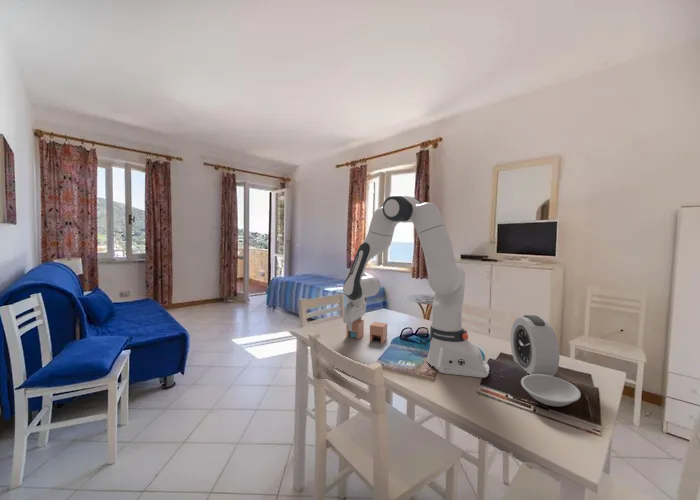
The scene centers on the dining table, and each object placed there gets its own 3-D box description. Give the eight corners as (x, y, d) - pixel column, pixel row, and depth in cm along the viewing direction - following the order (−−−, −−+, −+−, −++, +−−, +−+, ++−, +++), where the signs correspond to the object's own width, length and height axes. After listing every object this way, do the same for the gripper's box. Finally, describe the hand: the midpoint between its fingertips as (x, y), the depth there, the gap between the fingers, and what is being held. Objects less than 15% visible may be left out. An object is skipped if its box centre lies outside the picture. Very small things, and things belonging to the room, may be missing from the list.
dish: (573, 427, 75) (574, 408, 74) (512, 404, 85) (513, 387, 85) (584, 401, 87) (585, 385, 87) (529, 383, 97) (530, 369, 97)
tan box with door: (363, 335, 144) (363, 320, 144) (358, 339, 138) (358, 323, 138) (351, 333, 147) (351, 318, 146) (346, 337, 141) (346, 321, 141)
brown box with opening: (386, 338, 139) (387, 323, 139) (382, 343, 133) (383, 327, 133) (374, 336, 142) (374, 321, 141) (369, 341, 136) (369, 325, 136)
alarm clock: (509, 356, 120) (511, 308, 119) (529, 357, 119) (530, 309, 118) (535, 381, 99) (537, 324, 98) (558, 383, 98) (561, 325, 97)
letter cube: (360, 335, 144) (360, 327, 143) (357, 338, 140) (357, 329, 140) (352, 334, 145) (353, 326, 145) (349, 337, 141) (349, 328, 141)
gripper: (352, 305, 131) (351, 335, 132) (368, 296, 150) (367, 323, 150) (339, 303, 134) (339, 333, 134) (357, 295, 152) (356, 321, 153)
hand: (354, 327), depth 142 cm, fingers open, 8 cm apart
